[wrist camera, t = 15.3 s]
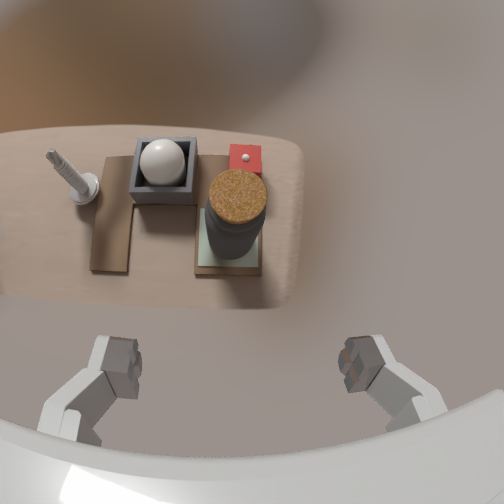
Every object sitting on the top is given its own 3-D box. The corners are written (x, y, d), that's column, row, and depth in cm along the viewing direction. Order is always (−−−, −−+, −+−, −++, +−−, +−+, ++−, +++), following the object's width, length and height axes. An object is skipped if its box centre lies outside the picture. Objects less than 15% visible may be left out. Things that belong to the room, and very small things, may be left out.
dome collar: (136, 203, 38) (128, 192, 34) (143, 152, 39) (138, 138, 35) (193, 203, 39) (191, 192, 35) (197, 151, 40) (196, 137, 36)
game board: (91, 270, 36) (89, 269, 35) (107, 158, 39) (105, 156, 38) (260, 275, 38) (261, 274, 38) (260, 158, 42) (260, 156, 41)
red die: (228, 184, 40) (229, 169, 35) (228, 158, 41) (230, 142, 36) (257, 185, 40) (261, 170, 36) (257, 160, 41) (261, 143, 37)
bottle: (262, 242, 39) (288, 202, 24) (226, 269, 37) (230, 243, 23) (235, 207, 39) (245, 150, 24) (199, 232, 38) (187, 186, 23)
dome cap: (143, 192, 37) (132, 171, 31) (149, 155, 38) (139, 131, 32) (184, 192, 38) (179, 170, 32) (188, 155, 39) (184, 130, 33)
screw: (103, 175, 39) (103, 206, 38) (75, 182, 38) (74, 212, 37) (69, 128, 26) (64, 165, 25) (35, 139, 25) (29, 176, 24)
